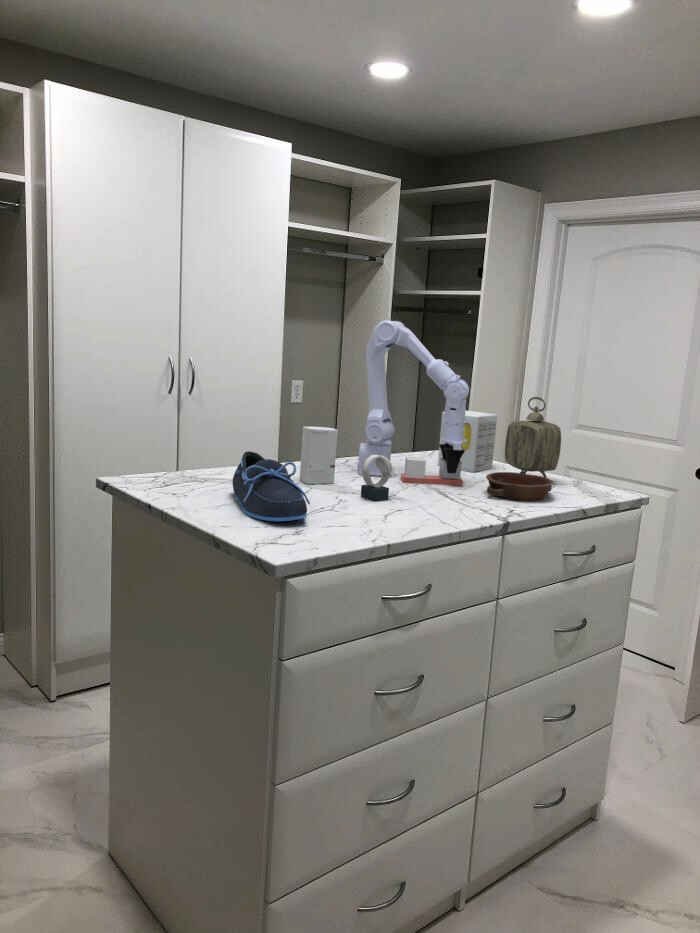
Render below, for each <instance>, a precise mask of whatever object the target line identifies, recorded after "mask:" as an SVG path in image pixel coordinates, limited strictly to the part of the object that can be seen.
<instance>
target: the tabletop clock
mask: <svg viewBox="0 0 700 933" xmlns="http://www.w3.org/2000/svg"><path fill="white" fill-rule="evenodd" d="M532 400H533V401H534V400H539V401H541V402H542V403H543V408H541V409H539V407H538V406H535V407H534V408H533V407H532V406H531V405H530V402H531V401H532ZM527 406H528V409H530V410H531V411H532V412H530V413H528V415H527V416H526V417H525V419H526V420H514V421H512V422H511V423H510V424H509V425H508V427H507V431H506V437H505V447H504V460H505V462H506V463H507V464H508V465H509V466H511V467H512V468H515V469H518V470H521V471H520V472H519V473H521V474H527V472H533V473H535V472H539V474H540V473H541V475H542V477H545V478H547V479H549V480H551V479H550V478H548V477H547V475H546V471H547V472H548V471H554V470H556V469H557V467H558V464H559V461H560V455H561V449H562V448H561V447H562V446H561V445H562V431H561V427H560V426H559V425H557V424H556V423H552V422H548V421H545V419H544V416H543V415H542V414H541V412H543V411H544V410H545V409H546V406H547V405H546V401H545V399H543V397H538V396H533V397H531V398H530V399H528V401H527Z"/></svg>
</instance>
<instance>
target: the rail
mask: <svg viewBox="0 0 700 933" xmlns="http://www.w3.org/2000/svg"><path fill="white" fill-rule="evenodd" d="M404 457H405V460H404V472H403V473H400V481H401V482H402V483H404V484H421V485H422V484H423V485H424V484H425V485H443V486H444V485H446V486H462V487H463V485H464V480H463V479H462V478H461V477H460V479H451V478H442V477H441V476H440V475H429V474H426V465H427V461H426V459H424V457H417V456H416V457H415V456H404Z"/></svg>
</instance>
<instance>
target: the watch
mask: <svg viewBox="0 0 700 933" xmlns="http://www.w3.org/2000/svg"><path fill="white" fill-rule="evenodd" d="M374 459H376V460H375V464H376V466H377V468H378V469H379V470H380V472H381V474H383V475H382V476H380V477H381V478H380V479H379V480H378V482H376V483H374V482H373V480H372V477H371V476H372V475H370V473H369V466H370V464H371V462H372V461H373V460H374ZM392 472H393V465H392V462H391V460H390V461H389V460H388V459H387V458H386V457H385V456H382V455H380V456H379V455H370V456H369V457H368V458H367V459H366V460H365V462H364V464H363V467H362V475H361V476H362V478H363V481H364V483H365V484H361V489H360V498H362V499H365V500H367V501H371V502H375V503H377V502H385V501H389V492H390V487H387V486H385V485H386V484H387V483H388V481H389V479H390V477H392V476H391V473H392Z"/></svg>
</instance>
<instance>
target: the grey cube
mask: <svg viewBox="0 0 700 933" xmlns="http://www.w3.org/2000/svg"><path fill="white" fill-rule="evenodd" d="M461 463H462V461H461V460H460V461H459V464H458V468H457V471H456V473H455V474H453V473H448V471H447V458H442V457H440V466H439V467H438V468H439V470H438V476H441V477H442V478H451V479H460V478H461V473H462V470H461Z"/></svg>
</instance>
